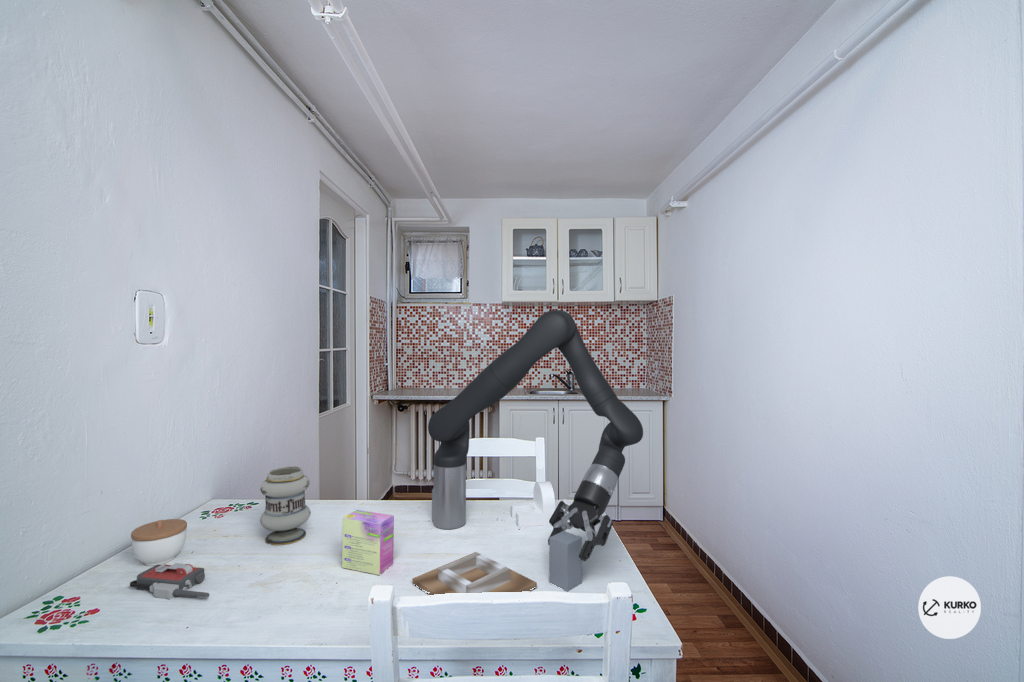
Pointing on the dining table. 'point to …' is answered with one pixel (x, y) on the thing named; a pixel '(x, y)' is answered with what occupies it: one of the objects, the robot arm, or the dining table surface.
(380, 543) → the box
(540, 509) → the white base with disc
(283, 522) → the apothecary jar
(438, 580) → the pocket plate
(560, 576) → the gray rectangular block
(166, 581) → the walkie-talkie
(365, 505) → the dining table surface
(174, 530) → the lidded jar
